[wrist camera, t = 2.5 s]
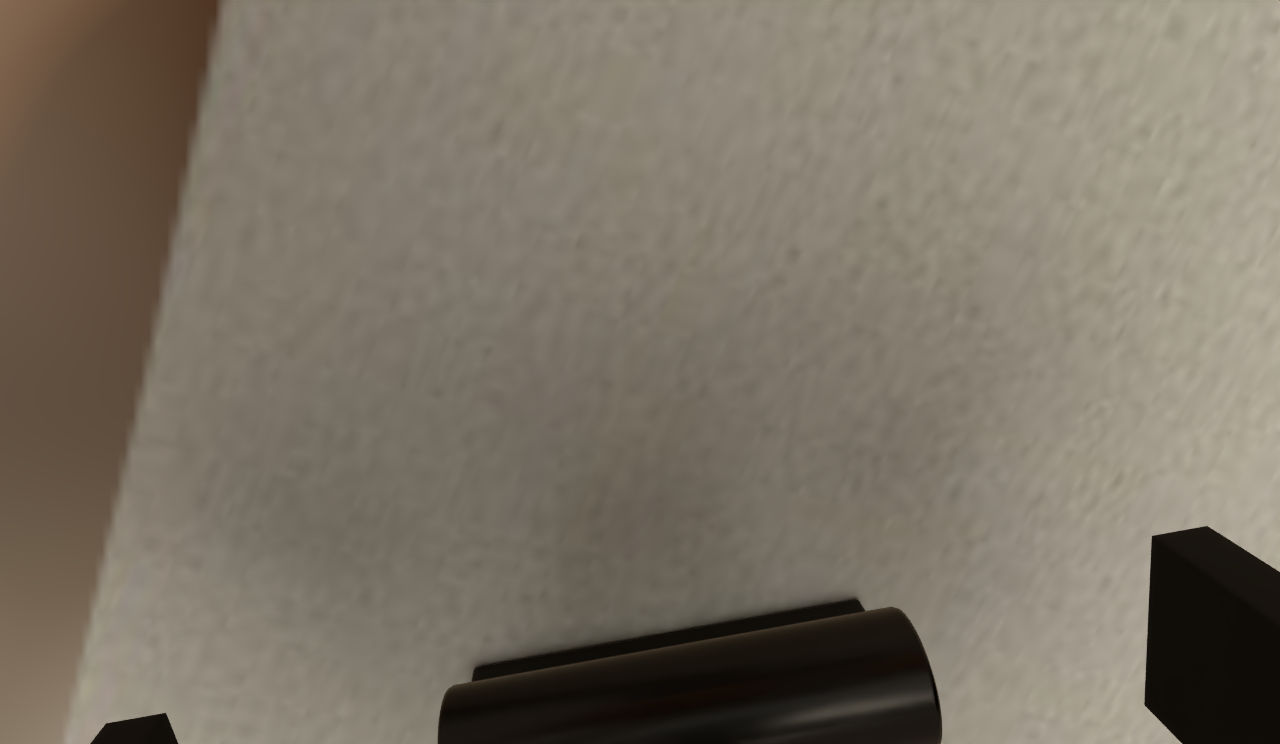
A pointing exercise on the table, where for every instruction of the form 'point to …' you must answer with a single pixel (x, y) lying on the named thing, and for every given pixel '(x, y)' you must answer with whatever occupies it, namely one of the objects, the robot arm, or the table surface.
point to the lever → (720, 692)
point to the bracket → (666, 640)
